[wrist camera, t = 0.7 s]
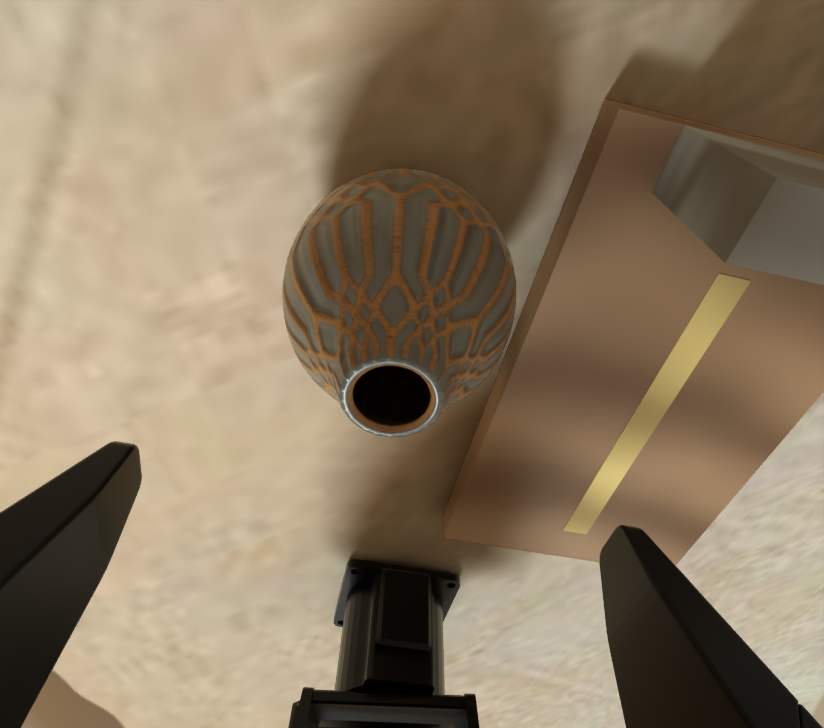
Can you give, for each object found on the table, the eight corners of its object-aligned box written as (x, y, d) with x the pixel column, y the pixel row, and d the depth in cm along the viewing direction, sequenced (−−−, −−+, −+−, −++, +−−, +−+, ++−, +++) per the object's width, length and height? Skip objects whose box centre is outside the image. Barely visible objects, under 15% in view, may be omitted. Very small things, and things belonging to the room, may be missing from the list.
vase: (510, 144, 17) (569, 261, 10) (492, 327, 21) (525, 503, 14) (296, 143, 17) (206, 258, 10) (318, 325, 21) (264, 499, 14)
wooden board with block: (658, 548, 29) (710, 674, 24) (443, 513, 28) (447, 638, 23) (947, 185, 18) (1169, 273, 12) (604, 98, 16) (689, 156, 11)
